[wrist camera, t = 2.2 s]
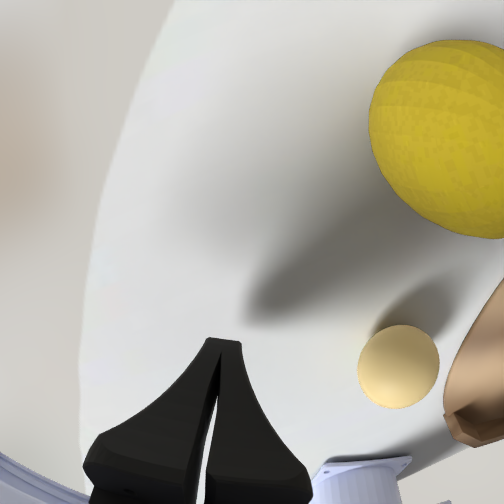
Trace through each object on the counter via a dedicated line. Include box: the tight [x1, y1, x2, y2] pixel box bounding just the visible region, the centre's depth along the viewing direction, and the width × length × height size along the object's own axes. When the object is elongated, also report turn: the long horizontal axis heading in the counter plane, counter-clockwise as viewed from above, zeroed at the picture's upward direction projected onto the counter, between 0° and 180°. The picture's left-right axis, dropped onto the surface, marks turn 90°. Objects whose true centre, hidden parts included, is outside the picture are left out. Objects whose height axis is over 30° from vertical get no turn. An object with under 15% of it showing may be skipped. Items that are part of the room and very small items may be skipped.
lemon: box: [369, 40, 504, 239], centre depth 7 cm, size 6×6×8 cm
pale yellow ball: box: [357, 325, 440, 409], centre depth 13 cm, size 4×4×4 cm
